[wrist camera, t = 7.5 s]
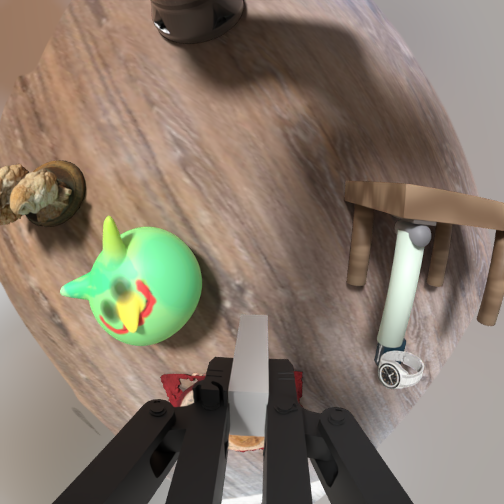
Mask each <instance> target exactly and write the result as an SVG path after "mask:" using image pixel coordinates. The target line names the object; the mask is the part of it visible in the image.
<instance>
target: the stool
mask: <svg viewBox="0 0 504 504" xmlns="http://www.w3.org/2000/svg"><path fill="white" fill-rule="evenodd" d="M344 201H348V202H351V203H355V208H354V220H353V231H352V241H351V250H350V258H349V266H348V274H347V281H346V282H347V283H348V284H351V285H354V286H363V285H365V284H366V277H367V270H368V263H369V256H370V248H371V240H372V231H373V221H374V210H375V209H376V210H379V211H382V212H386V213H389V214H392V216H393V217H396V218H399V219H402V220H405V221H408V222H411V223H414V224H423V225H432V226H436V228H435V236H434V243H433V250H432V256H431V262H430V267H429V273H428V278H427V283H428V284H429V285H432V286H437V287H440V286H442V285H443V280H444V275H445V270H446V265H447V260H448V254H449V248H450V241H451V234H452V226H453V224H459V225H467V226H474V227H481V228H488V229H495V230H496V234H495V242H494V247H493V253H492V259H491V264H490V269H489V273H488V278H487V282H486V286H485V291H484V294H483V298H482V302H481V306H480V309H479V313H478V316H477V321H478V322H480V323H481V324H483V325H487V326H494V325H495V323H496V320H497V317H498V314H499V310H500V307H501V303H502V300H503V296H504V203H503V202H498V201H494V200H490V199H486V198H481V197H477V196H472V195H467V194H462V193H457V192H452V191H447V190H442V189H436V188H430V187H424V186H418V185H412V184H404V183H387V182H366V181H345V197H344Z"/></svg>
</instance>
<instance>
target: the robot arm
mask: <svg viewBox="0 0 504 504" xmlns="http://www.w3.org/2000/svg"><path fill="white" fill-rule="evenodd" d="M243 7H244V3H243V0H151V12H152V20H153V23H154V25H155V26H156V28H157V29H158V30H159V32H160V33H161V34H162V35H163V36H164V37H166V38H167V39H169V40H172V41H175V42H179V43H199V42H204V41H208V40H211V39H213V38H216V37H218V36H220V35H222V34H224V33H225V32H227V31H228V30H229V29H231V28H232V27H233V26H234V25H235V24H236V23H237V21H238V20H239V19H240V17H241V15H242V12H243ZM192 390H193V399H194V403H192V404H190V405H187V406H181V407H174V406H173V405H172V404H171V403H170V402H168V401H166V400H161V399H155V400H151V401H148V402H147V403H145V404H144V405H143V406H142V407H141V408H140V409H139V411H138V412H137V413H136V414H135V415H134V416H133V417H132V418H131V419H130V420H129V422H128V423H127V424H126V425H125V426H124V427H123V428H122V429H121V430H120V431H119V433H118V434H117V435H116V436H115V437H114V438H113V439H112V440H111V442H109V444H108V445H107V446H106V447H105V448H104V449H103V450H102V451H101V452H100V453H99V454H98V456H97V457H96V458H95V459H94V460H93V461H92V462H91V463H90V464H89V465H88V466H87V467H86V468H85V469H84V470H83V471H82V473H81V474H80V475H79V476H78V477H77V478H76V479H75V480H74V481H73V482H72V483H71V484H70V485H69V486H68V487H67V489H66V490H65V491H64V492H63V493H62V494H61V495H60V496H59V497H58V498H57V499H56V500H55V501H54V502H53V503H52V504H148V502H149V501H150V499H151V498H152V497H153V495H154V494H155V492H156V491H157V489H158V488H159V486H160V485H161V483H162V482H163V480H164V479H165V477H166V476H167V474H168V473H169V471H170V470H171V468H172V467H173V465H174V464H175V462H176V461H177V464H176V467H175V471H174V474H173V478H172V481H171V485H170V489H169V492H168V496H167V499H166V503H165V504H221V501H222V494H223V486H224V478H225V471H226V463H227V455H228V448H229V434H230V435H240V436H262V437H264V449H263V456H264V458H263V496H262V504H312V494H311V485H310V476H309V467H308V458H310V460H311V463H312V465H313V467H314V469H315V471H316V473H317V475H318V478H319V480H320V482H321V484H322V486H323V488H324V490H325V492H326V494H327V496H328V498H329V500H330V503H331V504H413V502H412V501H411V499H410V498H409V496H408V495H407V493H406V492H405V491H404V489H403V488H402V486H401V485H400V483H399V482H398V480H397V479H396V478H395V476H394V475H393V473H392V472H391V470H390V469H389V468H388V466H387V465H386V463H385V462H384V460H383V459H382V457H381V456H380V455H379V453H378V452H377V450H376V449H375V447H374V446H373V444H372V443H371V441H370V440H369V438H368V437H367V436H366V434H365V433H364V431H363V430H362V428H361V427H360V425H359V424H358V422H357V421H356V419H355V418H354V417H353V415H352V414H351V413H350V412H349V411H348V410H346V409H343V408H339V407H333V408H328V409H326V410H324V411H323V412H322V413H321V414H320V413H315V412H311V411H308V410H306V409H304V408H303V407H302V406H301V405H300V404H299V403H298V400H297V392H296V384H295V376H294V369H293V365H292V364H291V362H290V361H289V360H288V359H268V315H251V314H241V317H240V323H239V329H238V335H237V341H236V347H235V353H234V358H224V357H215V358H214V359H212V360H211V361H210V362H209V365H208V369H207V372H206V376H205V379H204V380H201V381H198V382H197V383H195V384H194V386H193V387H192ZM307 457H308V458H307ZM177 459H178V460H177Z"/></svg>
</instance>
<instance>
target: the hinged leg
mask: <svg viewBox="0 0 504 504" xmlns="http://www.w3.org/2000/svg"><path fill="white" fill-rule="evenodd" d="M394 229H395V233H396V235H397V240H396V247H395V254H394V260H393V266H392V272H391V277H390V283H389V288H388V293H387V298H386V302H385V307H384V311H383V316H382V320H381V324H380V328H379V332H378V336H377V341H378V342H379V343H380V344H381V345H383V346H386V347H390V348H396V347H400V346H401V345H402V342H403V339H404V335H405V332H406V328H407V325H408V321H409V317H410V313H411V309H412V305H413V301H414V297H415V293H416V288H417V283H418V279H419V274H420V268H421V263H422V257H423V252H424V246H426V245H427V244H428V243H429V242H430V240H431V231H430V229H429V228H428V227H427V226H425V225H422V224H414V223H411V222H408V221H405V220H402V219H400V220H398V221H397V222H396V224H395V228H394Z"/></svg>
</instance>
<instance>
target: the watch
mask: <svg viewBox="0 0 504 504" xmlns="http://www.w3.org/2000/svg"><path fill="white" fill-rule="evenodd" d="M405 345H406V340H405V339H403V342H402V345H401V346H400V347H396V348H390V347H386V346H383V345H381V344H380V343H379V342H378V344H377V349H376V354H375V359H374V361H375V362H376V364H377V366H378V376H379V380H380V382H381V383H382V384H383V385H384V386H385V387H386V388H387V389H395V388H400V389H403V388H404V387H408V386H409V387H410V386H413V385H415V384H417V383H418V382H419V380H420V379H421V376H422V373H423V370H424V364H423V362H422V361H421V359H420V358H418V357H417V356H415V355H414V354H412V353H409V352H407V351H406V352H404V349H405ZM401 362H403V364H405V365H407V366H409V367H411V368H412V369H414V370H417V371H418V373H416V374H412V375H408V374H409V373H408V372H407V371H406V370H404V369H403V368H402V366H401ZM406 376H407V377H406Z"/></svg>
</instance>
